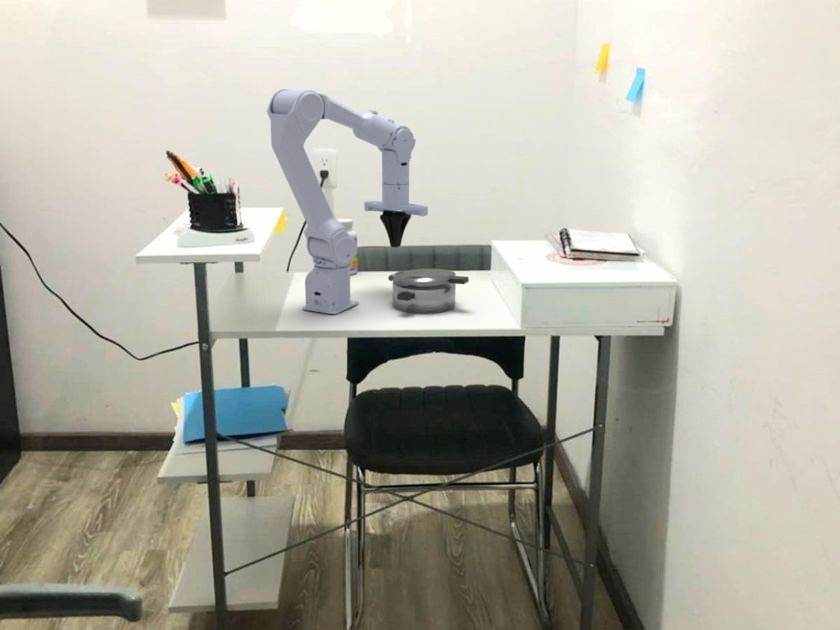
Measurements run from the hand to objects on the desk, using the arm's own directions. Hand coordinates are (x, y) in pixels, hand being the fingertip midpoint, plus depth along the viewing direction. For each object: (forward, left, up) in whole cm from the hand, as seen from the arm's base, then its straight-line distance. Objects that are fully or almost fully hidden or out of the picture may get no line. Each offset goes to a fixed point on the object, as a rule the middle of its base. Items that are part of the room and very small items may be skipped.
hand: (395, 246), depth 176 cm
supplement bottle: (+10, +20, -11) cm, 25 cm away
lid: (-6, -11, -5) cm, 14 cm away
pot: (-6, -10, -10) cm, 16 cm away
